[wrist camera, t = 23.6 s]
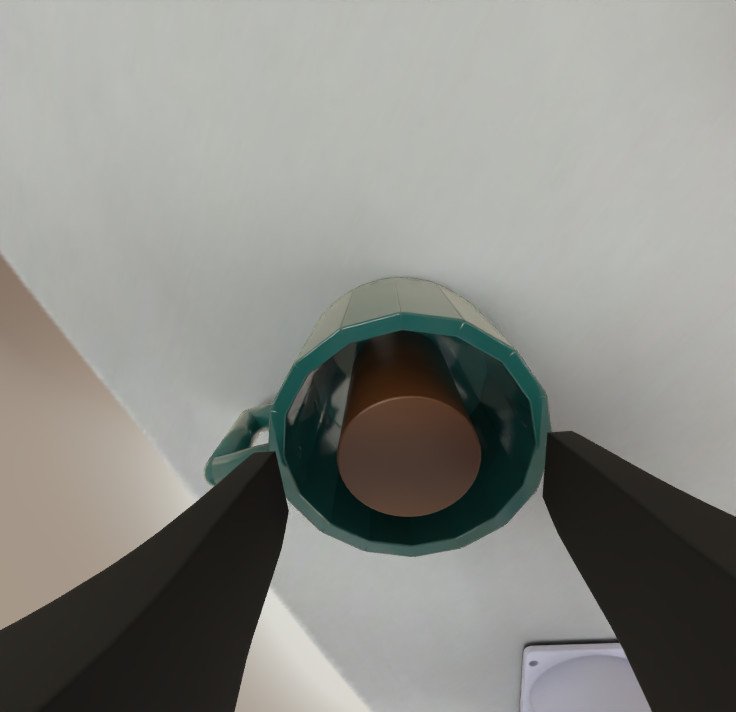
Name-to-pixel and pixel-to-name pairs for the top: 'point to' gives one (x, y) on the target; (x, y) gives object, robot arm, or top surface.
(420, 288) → the mug
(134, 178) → the top surface
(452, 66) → the top surface
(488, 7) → the top surface
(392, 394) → the walnut peg
